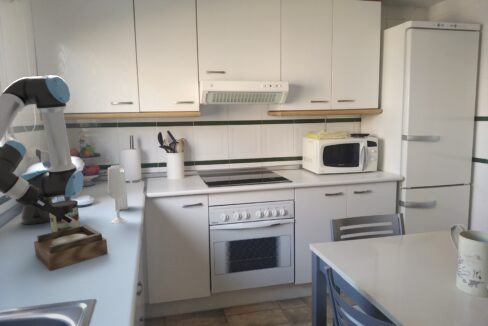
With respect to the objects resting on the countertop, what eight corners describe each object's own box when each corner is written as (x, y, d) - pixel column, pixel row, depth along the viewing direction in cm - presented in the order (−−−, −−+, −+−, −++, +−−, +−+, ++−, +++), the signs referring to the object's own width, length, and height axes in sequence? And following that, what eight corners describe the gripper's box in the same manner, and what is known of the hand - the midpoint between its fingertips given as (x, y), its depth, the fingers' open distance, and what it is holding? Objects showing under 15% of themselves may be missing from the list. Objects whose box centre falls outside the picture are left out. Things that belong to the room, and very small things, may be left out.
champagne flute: (114, 219, 168) (108, 166, 164) (129, 218, 167) (123, 166, 164) (108, 223, 161) (102, 169, 158) (123, 223, 161) (118, 168, 157)
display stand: (50, 270, 114) (47, 249, 113) (35, 255, 128) (33, 236, 127) (107, 253, 126) (105, 233, 125) (88, 241, 139) (86, 223, 138)
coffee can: (87, 234, 148) (83, 199, 146) (70, 243, 138) (65, 206, 136) (64, 233, 150) (60, 199, 148) (46, 242, 140) (41, 206, 138)
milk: (114, 208, 188) (109, 165, 185) (126, 206, 191) (122, 163, 188) (115, 210, 183) (110, 166, 179) (128, 208, 185) (123, 165, 182)
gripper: (7, 195, 141) (55, 224, 153) (22, 206, 122) (75, 237, 134) (21, 179, 143) (67, 208, 155) (38, 187, 125) (88, 220, 137)
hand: (71, 222), depth 145 cm, fingers open, 13 cm apart
